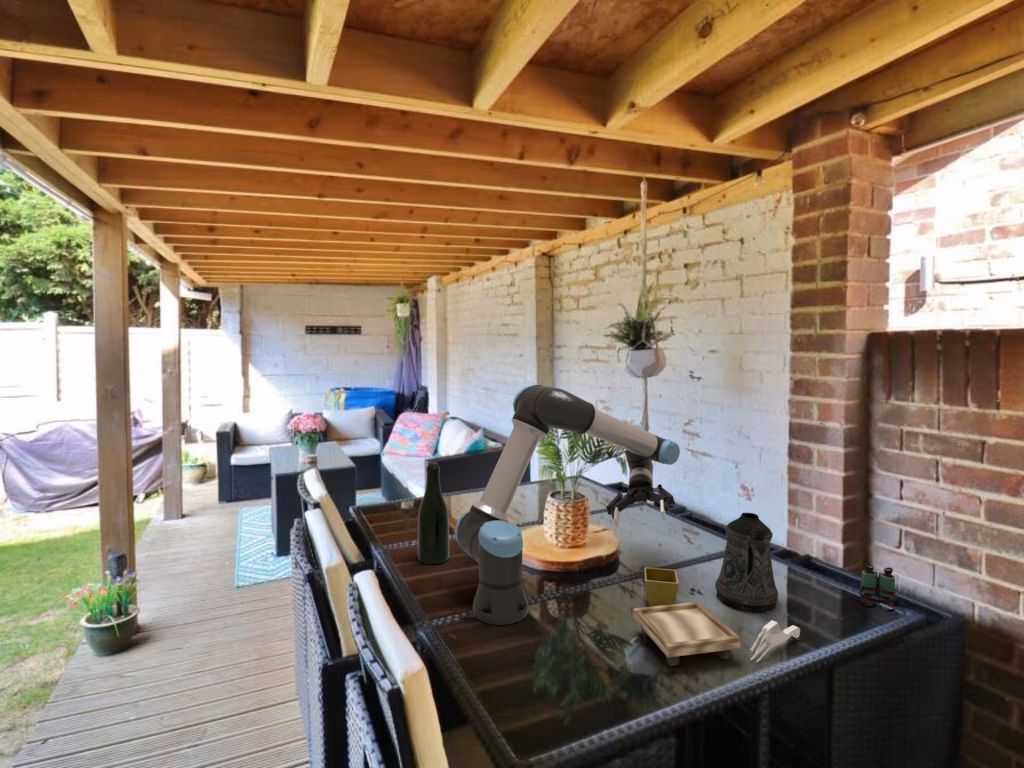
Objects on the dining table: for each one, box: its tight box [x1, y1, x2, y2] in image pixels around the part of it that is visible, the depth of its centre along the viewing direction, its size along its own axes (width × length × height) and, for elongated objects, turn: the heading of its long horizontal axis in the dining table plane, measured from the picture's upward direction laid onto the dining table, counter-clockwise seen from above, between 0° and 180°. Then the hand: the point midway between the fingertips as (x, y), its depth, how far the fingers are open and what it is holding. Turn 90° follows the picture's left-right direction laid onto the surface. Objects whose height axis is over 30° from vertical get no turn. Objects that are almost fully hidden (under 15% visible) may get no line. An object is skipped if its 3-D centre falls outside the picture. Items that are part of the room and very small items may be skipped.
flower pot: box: [643, 567, 679, 607], centre depth 156 cm, size 9×9×9 cm
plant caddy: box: [633, 601, 741, 667], centre depth 135 cm, size 18×18×6 cm
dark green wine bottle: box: [417, 461, 450, 565], centre depth 187 cm, size 10×10×33 cm
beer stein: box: [714, 512, 779, 614], centre depth 158 cm, size 16×19×25 cm
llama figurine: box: [748, 619, 801, 662], centre depth 134 cm, size 2×11×18 cm
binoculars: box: [858, 563, 899, 607], centre depth 157 cm, size 9×11×10 cm
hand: (639, 519), depth 161 cm, fingers open, 13 cm apart
